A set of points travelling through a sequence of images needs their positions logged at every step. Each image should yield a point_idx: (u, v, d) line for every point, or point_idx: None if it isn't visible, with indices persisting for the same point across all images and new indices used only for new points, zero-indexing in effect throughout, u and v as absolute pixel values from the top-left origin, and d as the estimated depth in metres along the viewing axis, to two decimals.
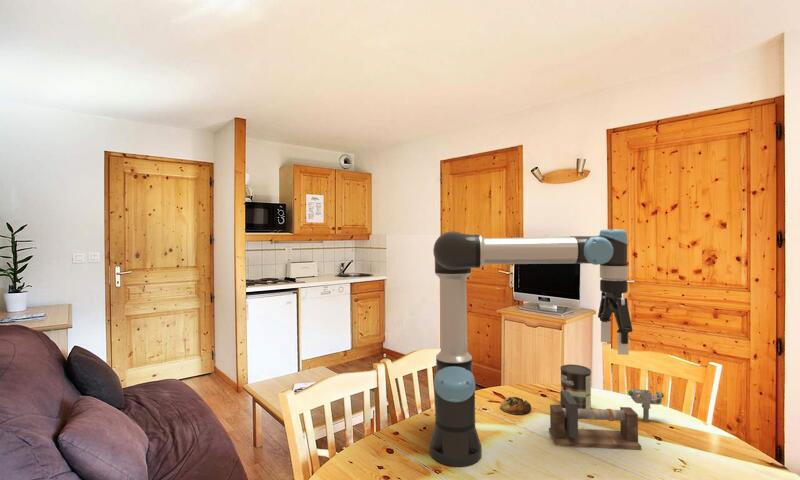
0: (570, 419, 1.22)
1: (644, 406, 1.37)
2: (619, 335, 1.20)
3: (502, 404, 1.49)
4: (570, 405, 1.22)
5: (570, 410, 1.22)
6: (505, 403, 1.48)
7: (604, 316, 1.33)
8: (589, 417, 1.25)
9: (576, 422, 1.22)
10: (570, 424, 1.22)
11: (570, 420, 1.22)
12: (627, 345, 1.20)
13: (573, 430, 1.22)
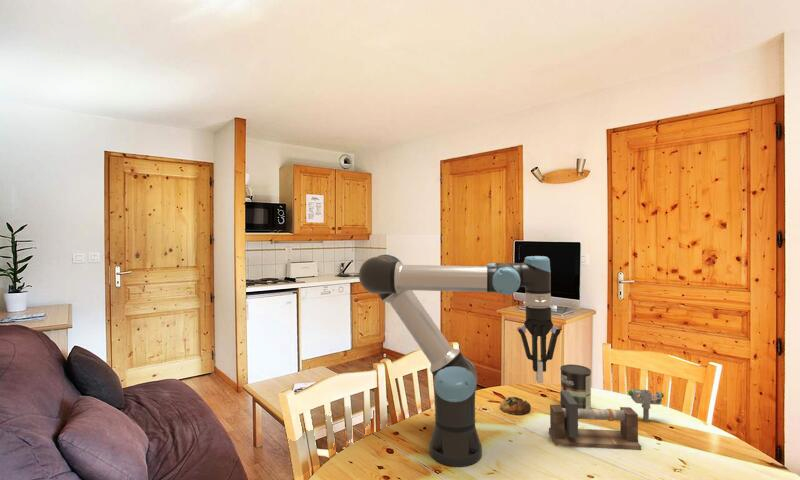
0: (570, 419, 1.22)
1: (644, 406, 1.37)
2: None
3: (502, 404, 1.49)
4: (570, 405, 1.22)
5: (570, 410, 1.22)
6: (505, 403, 1.48)
7: None
8: (589, 417, 1.25)
9: (576, 422, 1.22)
10: (570, 424, 1.22)
11: (570, 420, 1.22)
12: (537, 374, 1.26)
13: (573, 430, 1.22)
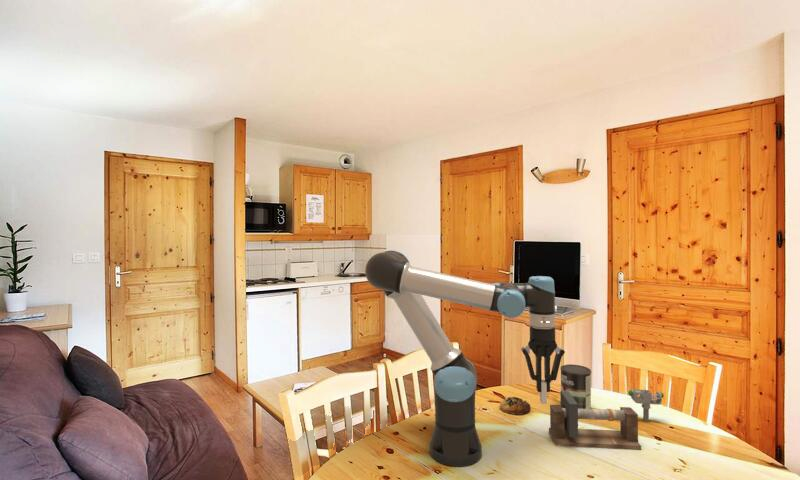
0: (570, 419, 1.22)
1: (644, 406, 1.37)
2: None
3: (501, 404, 1.49)
4: (570, 405, 1.22)
5: (570, 410, 1.22)
6: (504, 403, 1.48)
7: (544, 371, 1.28)
8: (589, 417, 1.25)
9: (576, 422, 1.22)
10: (570, 424, 1.22)
11: (570, 420, 1.22)
12: (541, 394, 1.26)
13: (573, 430, 1.22)
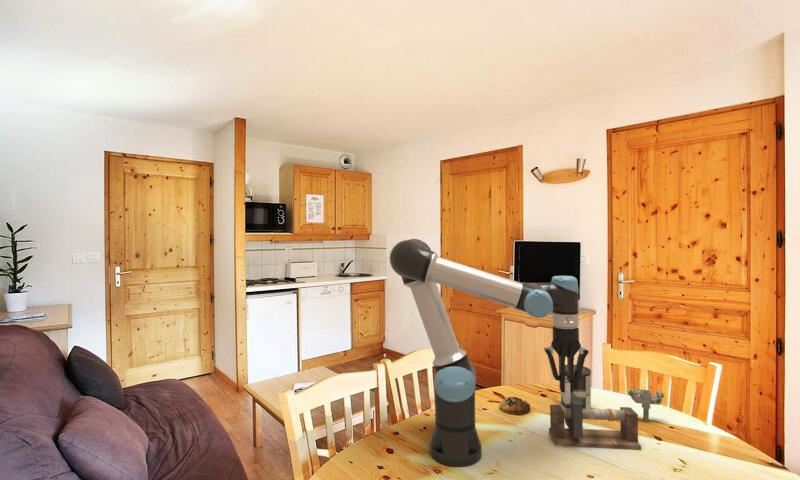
0: (575, 419, 1.22)
1: (644, 406, 1.37)
2: None
3: (501, 404, 1.49)
4: (575, 405, 1.22)
5: (575, 410, 1.22)
6: (504, 403, 1.48)
7: None
8: (589, 417, 1.25)
9: (581, 422, 1.21)
10: (575, 424, 1.22)
11: (575, 420, 1.22)
12: (565, 395, 1.26)
13: (578, 430, 1.22)
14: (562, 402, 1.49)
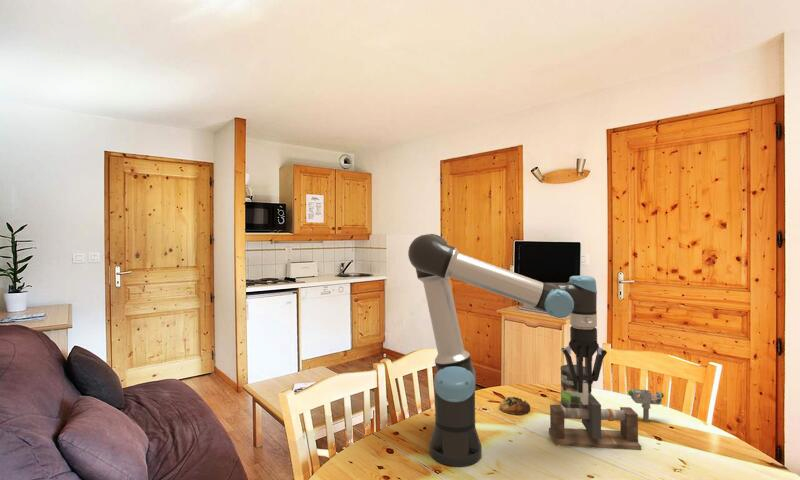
0: (593, 420, 1.21)
1: (644, 406, 1.37)
2: None
3: (501, 404, 1.49)
4: (593, 406, 1.21)
5: (593, 411, 1.21)
6: (504, 403, 1.48)
7: (585, 371, 1.26)
8: None
9: (599, 423, 1.21)
10: (593, 425, 1.21)
11: (593, 421, 1.21)
12: (582, 395, 1.25)
13: (596, 431, 1.21)
14: (562, 402, 1.49)
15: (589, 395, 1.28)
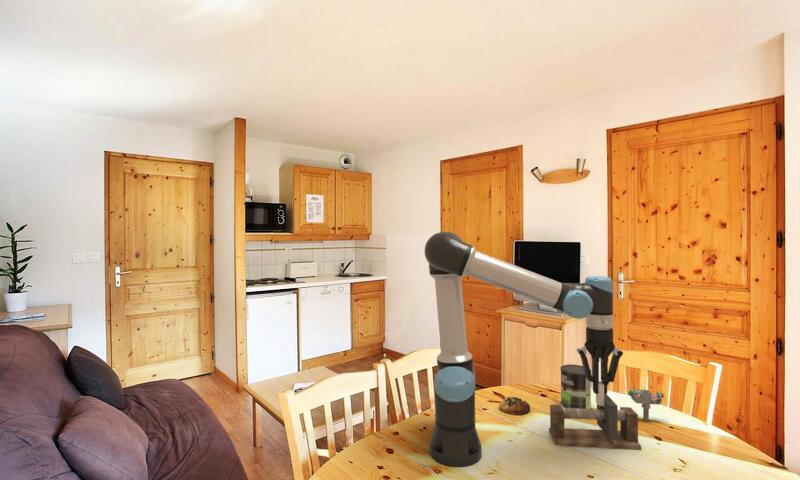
0: (609, 421, 1.20)
1: (644, 406, 1.37)
2: None
3: (501, 404, 1.49)
4: (609, 406, 1.20)
5: (609, 411, 1.20)
6: (504, 403, 1.48)
7: (601, 372, 1.26)
8: (589, 417, 1.25)
9: (615, 424, 1.20)
10: (609, 426, 1.20)
11: (609, 422, 1.20)
12: (598, 396, 1.24)
13: (613, 432, 1.20)
14: (562, 402, 1.49)
15: (604, 395, 1.27)
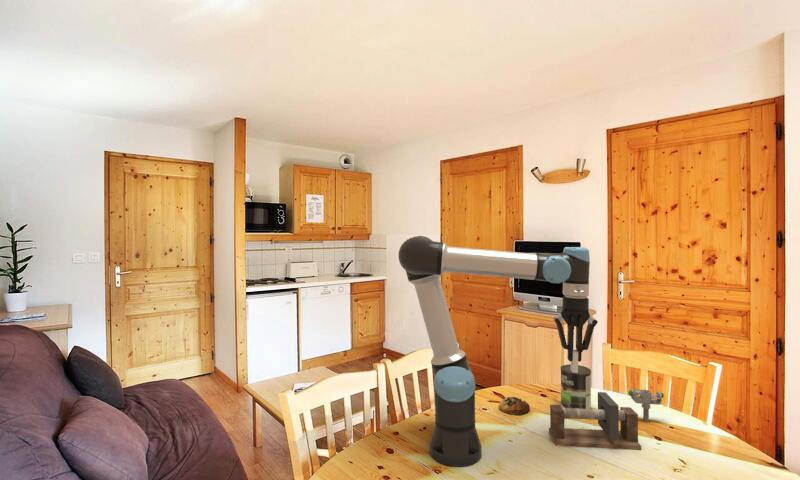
0: (610, 421, 1.20)
1: (644, 406, 1.37)
2: None
3: (501, 404, 1.49)
4: (610, 406, 1.20)
5: (610, 411, 1.20)
6: (504, 403, 1.48)
7: (576, 341, 1.29)
8: (589, 417, 1.25)
9: (617, 424, 1.20)
10: (610, 426, 1.20)
11: (610, 422, 1.20)
12: (572, 363, 1.28)
13: (614, 432, 1.20)
14: (562, 402, 1.49)
15: (605, 396, 1.27)
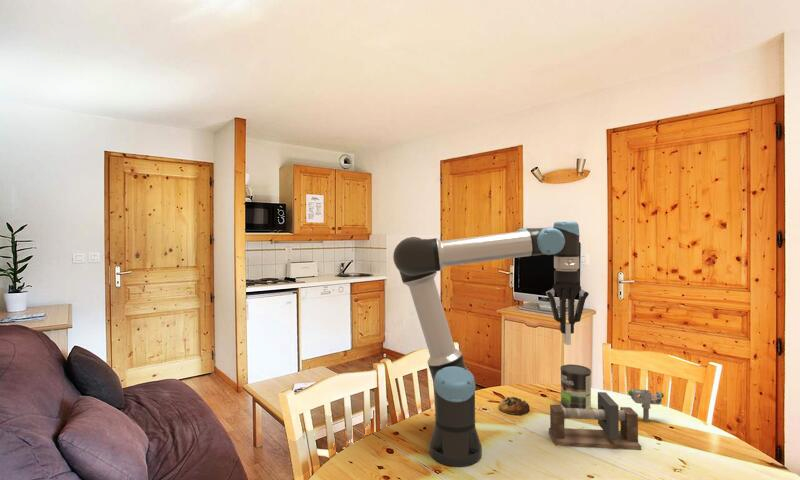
0: (610, 421, 1.20)
1: (644, 406, 1.37)
2: None
3: (500, 404, 1.49)
4: (610, 406, 1.20)
5: (610, 411, 1.20)
6: (503, 403, 1.48)
7: (568, 313, 1.31)
8: (589, 417, 1.25)
9: (617, 424, 1.20)
10: (610, 426, 1.20)
11: (610, 422, 1.20)
12: (565, 335, 1.30)
13: (614, 432, 1.20)
14: (562, 402, 1.49)
15: (605, 396, 1.27)
